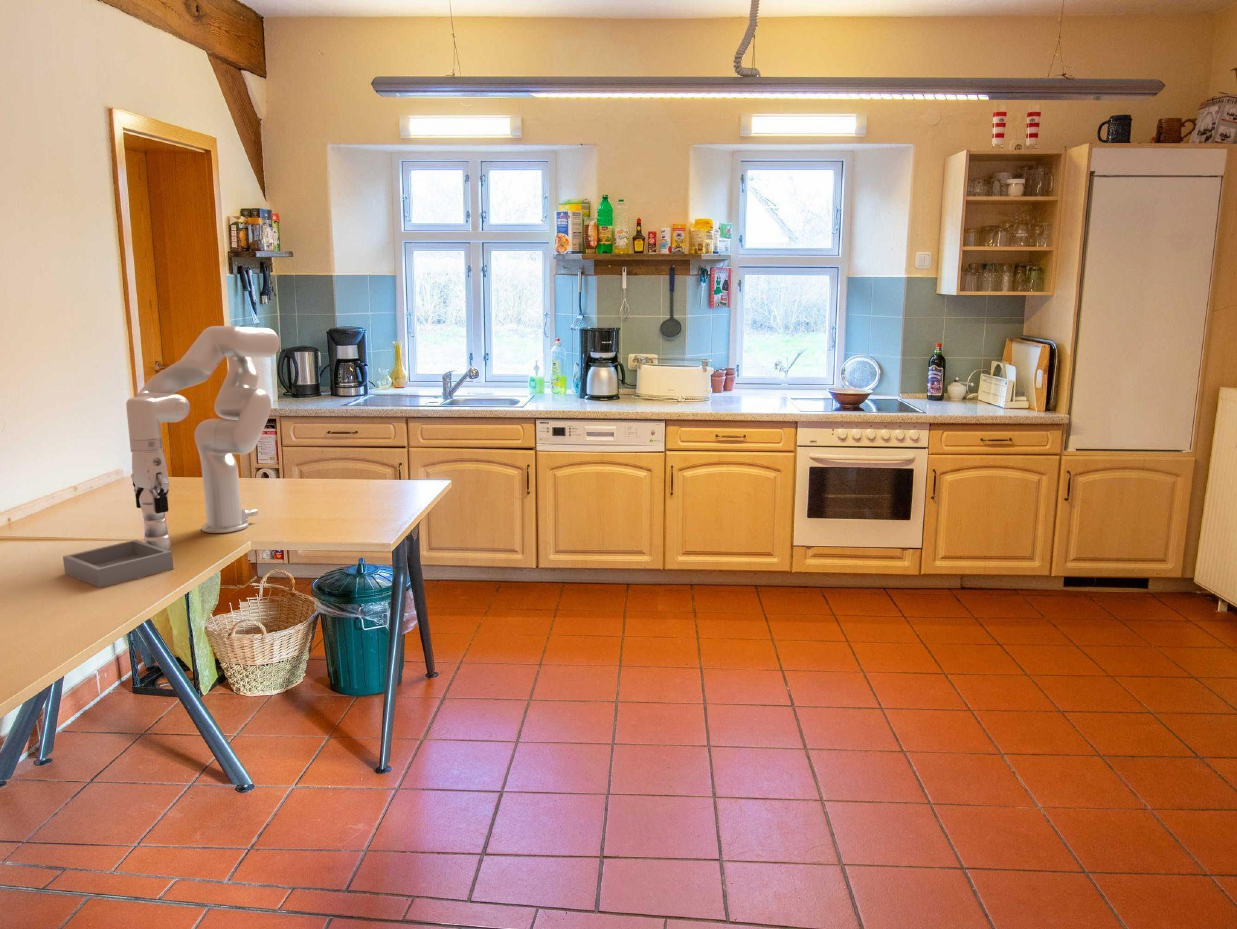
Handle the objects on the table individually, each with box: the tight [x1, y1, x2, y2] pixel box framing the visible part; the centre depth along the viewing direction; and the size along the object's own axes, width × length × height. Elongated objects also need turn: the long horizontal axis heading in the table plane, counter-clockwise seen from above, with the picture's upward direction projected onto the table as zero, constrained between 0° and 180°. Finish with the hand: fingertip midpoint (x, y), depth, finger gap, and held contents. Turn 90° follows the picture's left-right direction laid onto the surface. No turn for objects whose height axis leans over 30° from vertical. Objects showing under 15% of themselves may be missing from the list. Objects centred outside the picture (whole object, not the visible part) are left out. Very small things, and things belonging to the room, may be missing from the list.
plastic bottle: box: [139, 489, 172, 551], centre depth 255 cm, size 6×7×20 cm
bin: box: [62, 539, 175, 589], centre depth 241 cm, size 18×18×4 cm
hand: (152, 509), depth 254 cm, fingers open, 9 cm apart
